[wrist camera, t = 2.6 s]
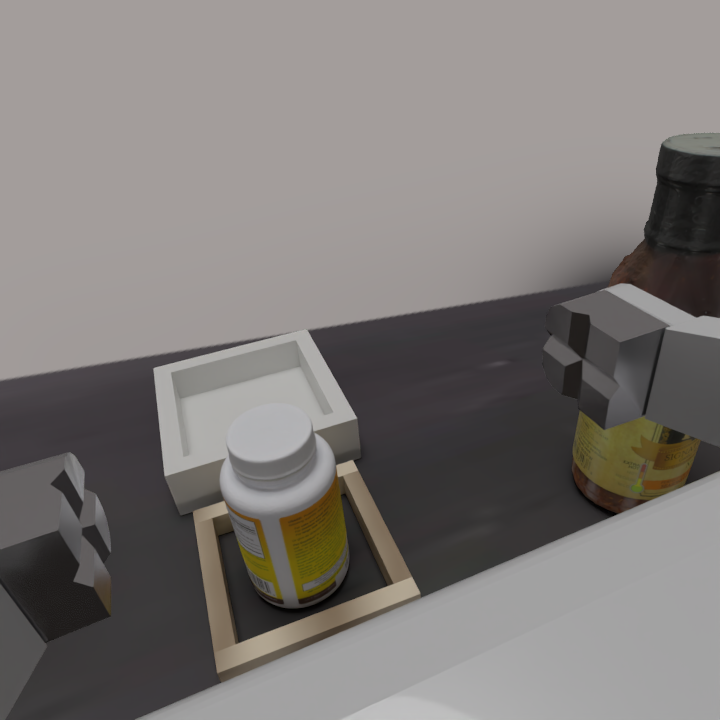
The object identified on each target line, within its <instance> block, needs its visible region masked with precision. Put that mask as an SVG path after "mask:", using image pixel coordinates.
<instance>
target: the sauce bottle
mask: <svg viewBox="0 0 720 720" xmlns="http://www.w3.org/2000/svg"><path fill="white" fill-rule="evenodd" d="M656 176H657V186H656V190H655V194H654V199H653V203H652V207H651V213H650V216H649V220H648V221H647V222H646V225H645V228H644V233H645V234H644V236H645V239H644V240H643V241H642V242H641V243H640V244H639V245H638V246H637V248H636V249H635V250H634V252H633V253H631V254H630V255H627V256H625V257H624V259H623V261H622V262H621V263H620V265H619V266H618V267H617V268H616V270H615V271H614V272H613V274H612V277H611V280H610V283H609V285H608V287H607V288H609V287H612V286H615V285H617V284H620V283H622V284H631V285H633V286H635V287H637V288H639V289H641V290H643V291H645V292H647V293H649V294H651V295H653V296H655V297H657V298H659V299H661V300H663V301H664V302H666V303H668V304H670V305H672V306H674V307H676V308H678V309H680V310H682V311H684V312H686V313H688V314H690V315H692V316H694V317H696V318H698V317H701V316H709V317H715V318H720V133H698V134H697V133H696V134H683V135H678V136H673V137H669V138H668V139H666V140H665V141H664V142H663V143H662V145H661V148H660V152H659V157H658V163H657V167H656ZM700 441H701V440H700V439H697V438H694V437H692V436H689V435H686V434H684V433H681V432H679V431H676V430H673V429H671V428H668V427H665V426H663V425H660V424H657V423H655V422H652V421H650V420H647V419H645V416H644V417H641V418H638V419H636V420H633V421H630V422H627V423H624V424H621V425H618V426H615V427H612V428H609V429H606V430H603V429H602V428H601V427H600V426H598V425H597V424H596V423H595V422H594V421H592V420H591V419H590V418H589V417H588V416H586V415H585V414H584V413H583V412H582V411H580V413H579V418H578V423H577V429H576V434H575V439H574V444H573V463H572V472H573V476H574V479H575V483H576V485H577V486H578V488H579V489H580V490H581V491H582V493H583V494H584V495H585V497H587V498H588V499H590V500H591V501H593V502H594V503H595V504H597V505H599V506H601V507H603V508H605V509H607V510H610V511H612V512H615V513H617V514H620V513H622V512H624V511H627V510H629V509H631V508H634V507H636V506H639V505H641V504H643V503H646V502H648V501H650V500H653V499H655V498H657V497H660V496H662V495H664V494H667V493H669V492H671V491H674V490H676V489H678V488H681V487H683V486H684V484H685V482H686V480H687V477H688V474H689V471H690V469H691V466H692V463H693V460H694V458H695V455H696V452H697V449H698V446H699V444H700Z"/></svg>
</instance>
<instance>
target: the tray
mask: <svg viewBox="0 0 720 720" xmlns="http://www.w3.org/2000/svg"><path fill="white" fill-rule="evenodd" d="M154 378H155V387H156V397H157V407H158V416H159V426H160V436H161V445H162V455H163V465H164V474H165V478H166V481H167V483H168V486H169V488H170V491H171V493H172V496H173V499H174V501H175V504H176V506H177V509H178V511H179V514H180V516H181V515H184V514H187V513H191V512H193V511H195V510H198V509H201V508H204V507H207V506H210V505H213V504H216V503H220V502H223V501H224V498H223V495H222V492H221V488H220V480H219V479H220V472H221V468H222V465H223V463H224V461H225V459H226V457H227V456H228V454H229V453H228V449H227V446H226V434H227V431H228V429H229V427H230V425H231V424H232V423H233V421H234V420H235V419H236V418H238V417H239V416H240V415H241V414H243V413H244V412H246V411H248V410H250V409H252V408H254V407H257V406H260V405H264V404H270V403H285V404H290V405H294V406H296V407H299V408H300V409H302V410H304V411H305V412H306V413H307V414H308V416H309V417H310V419H311V422H312V426H313V431H314V433H316V434H318V435H319V436H321V437H322V438H323V439H324V440H325V441H326V442H327V443H328V444H329V446H330V447H331V449H332V451H333V454H334V457H335V462H336V465H338V464H342V463H345V462H348V461H351V460H356V459H359V458H361V450H360V441H359V432H358V422H357V417H356V416H355V414H354V412H353V410H352V409H351V407H350V405H349V403H348V401H347V400H346V398H345V396H344V394H343V393H342V391H341V389H340V387H339V386H338V384H337V382H336V380H335V379H334V377H333V375H332V373H331V371H330V370H329V368H328V366H327V364H326V363H325V361H324V359H323V357H322V356H321V354H320V352H319V350H318V349H317V347H316V345H315V343H314V341H313V340H312V338H311V336H310V334H309V333H308V331H307V329H305V330H301V331H297V332H293V333H289V334H285V335H281V336H277V337H274V338H270V339H266V340H262V341H258V342H254V343H250V344H246V345H242V346H238V347H234V348H230V349H226V350H223V351H219V352H215V353H211V354H207V355H203V356H199V357H195V358H191V359H187V360H183V361H179V362H176V363H172V364H168V365H164V366H160V367H156V368H154Z"/></svg>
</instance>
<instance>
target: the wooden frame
mask: <svg viewBox="0 0 720 720" xmlns="http://www.w3.org/2000/svg"><path fill="white" fill-rule="evenodd" d="M336 468H337V475H338V481H339V487H340V494H341V495H342V494H346V496H347V498H348V500H349V503H350V505H351V507H352V509H353V511H354V514H355V516H356V518H357V520H358V522H359V524H360V527H361V529H362V531H363V533H364V535H365V538H366V540H367V542H368V544H369V546H370V548H371V551H372V553H373V555H374V557H375V559H376V562H377V564H378V566H379V568H380V570H381V572H382V575H383V577H384V579H385V581H386V583H387V587H385V588H382V589H379V590H377V591H374V592H371V593H369V594H366V595H364V596H361V597H358V598H356V599H353V600H351V601H348V602H345V603H343V604H340V605H337V606H335V607H332V608H330V609H327V610H324V611H322V612H319V613H317V614H314V615H311V616H309V617H306V618H304V619H301V620H298V621H296V622H293V623H290V624H288V625H285V626H283V627H280V628H277V629H275V630H272V631H270V632H267V633H264V634H262V635H259V636H257V637H254V638H251V639H249V640H246V641H243V642H241V643H239V642H238V637H237V631H236V626H235V621H234V616H233V610H232V605H231V600H230V595H229V589H228V584H227V579H226V573H225V568H224V563H223V558H222V552H221V547H220V542H219V537H218V536H219V535H222V534H225V533H228V532H231V531H234V528H233V526H232V522H231V519H230V516H229V513H228V510H227V508H226V504H225V501H223V502H220V503H216V504H213V505H210V506H207V507H204V508H201V509H198V510H195V511H193V516H194V522H195V529H196V536H197V542H198V549H199V555H200V562H201V569H202V575H203V582H204V589H205V595H206V602H207V609H208V615H209V622H210V629H211V635H212V642H213V649H214V655H215V662H216V669H217V674H218V676H219V678H220V681H221V683H222V682H225V681H227V680H229V679H232V678H234V677H236V676H239V675H241V674H243V673H246V672H248V671H251V670H253V669H255V668H258V667H260V666H262V665H265V664H267V663H269V662H272V661H274V660H276V659H279V658H281V657H283V656H286V655H288V654H290V653H293V652H295V651H298V650H300V649H302V648H305V647H307V646H309V645H312V644H314V643H316V642H319V641H321V640H323V639H326V638H328V637H330V636H333V635H335V634H338V633H340V632H342V631H345V630H347V629H349V628H352V627H354V626H356V625H359V624H361V623H363V622H366V621H368V620H370V619H373V618H375V617H377V616H380V615H382V614H385V613H387V612H389V611H392V610H394V609H396V608H399V607H401V606H403V605H406V604H408V603H410V602H413V601H415V600H417V599H420V598H421V594H420V592H419V590H418V588H417V586H416V584H415V582H414V580H413V578H412V576H411V574H410V572H409V570H408V568H407V566H406V564H405V562H404V560H403V558H402V556H401V554H400V552H399V550H398V548H397V546H396V544H395V542H394V540H393V538H392V536H391V534H390V532H389V531H388V529H387V527H386V525H385V523H384V521H383V519H382V517H381V515H380V513H379V511H378V509H377V507H376V505H375V503H374V501H373V499H372V497H371V495H370V493H369V491H368V489H367V487H366V485H365V483H364V481H363V479H362V477H361V475H360V473H359V471H358V469H357V467H356V465H355V463H354V461H353V460H351V461H348V462H345V463H342V464H338V465H336Z"/></svg>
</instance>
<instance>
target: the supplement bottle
mask: <svg viewBox="0 0 720 720" xmlns="http://www.w3.org/2000/svg"><path fill="white" fill-rule="evenodd" d="M226 446H227V449H228V453H229V454H228V456H227V457H226V459H225V461H224V463H223V465H222V468H221V472H220V479H219V480H220V488H221V492H222V495H223V498H224V501H225V504H226V508H227V510H228V513H229V516H230V519H231V522H232V526H233V528H234V532H235V535H236V538H237V541H238V544H239V547H240V550H241V553H242V556H243V558H244V562H245V565H246V568H247V571H248V574H249V577H250V579H251V582H252V584H253V586H254V588H255V590H256V591H257V592H258V594H259V595H260V596H261V597H262V598H264V599H265V600H266V601H268V602H269V603H271V604H273V605H276V606H279V607H283V608H293V609H294V608H304V607H308V606H311V605H314V604H316V603H319V602H321V601H322V600H324V599H326V598H327V597H328V596H330V595H331V594H332V593H333V592H334V591H335V590H336V589H337V588H338V587H339V586H340V584H341V583H342V581H343V579H344V577H345V575H346V573H347V570H348V566H349V546H348V540H347V533H346V527H345V520H344V514H343V507H342V500H341V494H340V487H339V481H338V475H337V468H336V462H335V457H334V454H333V451H332V449H331V447H330V446H329V444H328V443H327V442H326V441H325V440H324V439H323V438H322V437H321V436H319V435H318V434H316V433H314V431H313V426H312V422H311V419H310V417H309V416H308V414H307V413H306V412H305V411H304V410H302V409H300V408H299V407H296V406H294V405H290V404H285V403H270V404H264V405H260V406H257V407H254V408H252V409H250V410H248V411H246V412H244V413H243V414H241V415H240V416H239V417H238V418H236V419H235V420H234V421H233V423H232V424H231V425H230V427H229V429H228V431H227V434H226Z"/></svg>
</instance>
